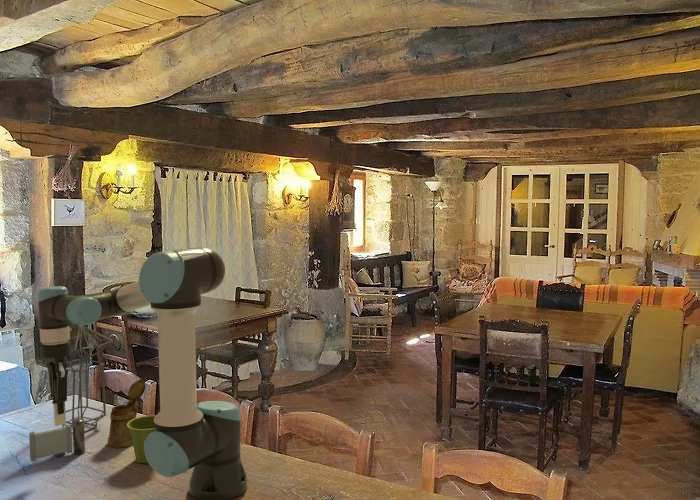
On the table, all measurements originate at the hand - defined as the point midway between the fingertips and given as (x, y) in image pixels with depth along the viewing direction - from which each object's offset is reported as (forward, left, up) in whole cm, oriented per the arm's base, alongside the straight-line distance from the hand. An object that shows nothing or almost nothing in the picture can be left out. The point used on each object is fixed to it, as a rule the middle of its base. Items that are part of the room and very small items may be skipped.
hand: (60, 424), depth 173 cm
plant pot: (-9, -22, -13) cm, 27 cm away
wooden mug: (+9, -22, -13) cm, 27 cm away
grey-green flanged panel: (+8, +1, -12) cm, 14 cm away
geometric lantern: (+27, -13, -13) cm, 33 cm away
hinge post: (+8, -7, -13) cm, 17 cm away
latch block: (+10, -2, -13) cm, 16 cm away
